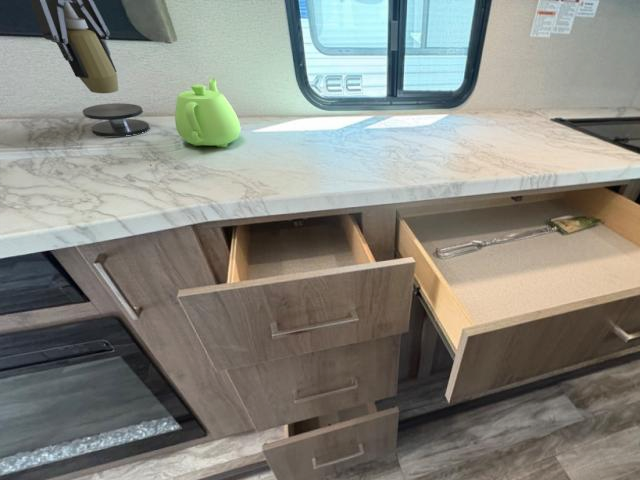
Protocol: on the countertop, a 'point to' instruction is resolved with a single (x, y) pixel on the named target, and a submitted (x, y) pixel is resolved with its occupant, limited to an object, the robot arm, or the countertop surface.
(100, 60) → the squeeze bottle
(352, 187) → the countertop surface
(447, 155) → the countertop surface
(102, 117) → the stand
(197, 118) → the teapot
